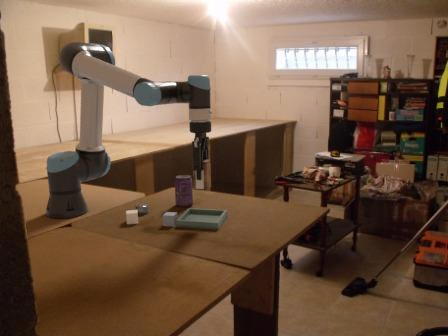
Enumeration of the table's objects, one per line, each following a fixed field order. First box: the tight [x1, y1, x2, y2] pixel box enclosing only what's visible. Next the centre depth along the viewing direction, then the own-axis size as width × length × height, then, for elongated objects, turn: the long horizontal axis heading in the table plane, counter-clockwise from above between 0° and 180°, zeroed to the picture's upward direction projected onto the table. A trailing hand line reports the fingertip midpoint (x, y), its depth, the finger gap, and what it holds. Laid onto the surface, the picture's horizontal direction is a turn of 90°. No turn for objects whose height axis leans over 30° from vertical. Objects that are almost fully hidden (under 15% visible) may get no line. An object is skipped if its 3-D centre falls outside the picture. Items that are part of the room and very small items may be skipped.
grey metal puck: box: [134, 203, 150, 216], centre depth 167 cm, size 5×5×3 cm
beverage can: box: [174, 174, 194, 208], centre depth 176 cm, size 7×7×12 cm
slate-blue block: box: [162, 211, 179, 227], centre depth 154 cm, size 4×4×4 cm
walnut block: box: [192, 159, 212, 191], centre depth 153 cm, size 5×5×10 cm
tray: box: [175, 207, 228, 231], centre depth 156 cm, size 15×15×2 cm
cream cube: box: [125, 209, 139, 225], centre depth 157 cm, size 4×4×4 cm
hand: (202, 186), depth 154 cm, fingers closed on walnut block, 5 cm apart
